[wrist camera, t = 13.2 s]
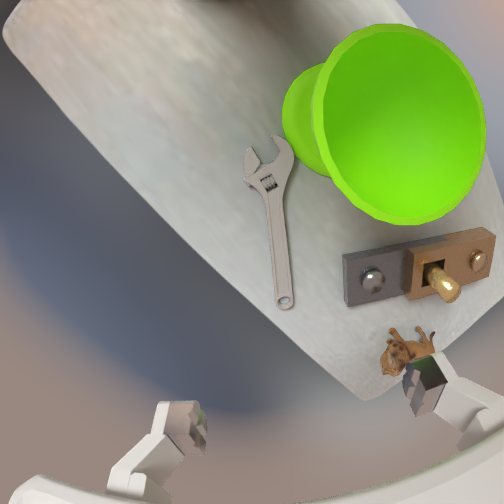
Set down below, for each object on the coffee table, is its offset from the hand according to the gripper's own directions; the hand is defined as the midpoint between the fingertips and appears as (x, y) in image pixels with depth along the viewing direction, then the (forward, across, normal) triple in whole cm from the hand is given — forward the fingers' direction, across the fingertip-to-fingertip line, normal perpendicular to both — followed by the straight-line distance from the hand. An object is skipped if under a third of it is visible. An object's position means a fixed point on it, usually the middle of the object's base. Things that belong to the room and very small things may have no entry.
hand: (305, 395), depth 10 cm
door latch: (+31, -24, +15) cm, 42 cm away
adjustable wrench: (+32, 0, +5) cm, 32 cm away
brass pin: (+31, -24, +15) cm, 42 cm away
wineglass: (+31, -12, -8) cm, 34 cm away
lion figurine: (+31, -22, +31) cm, 49 cm away
